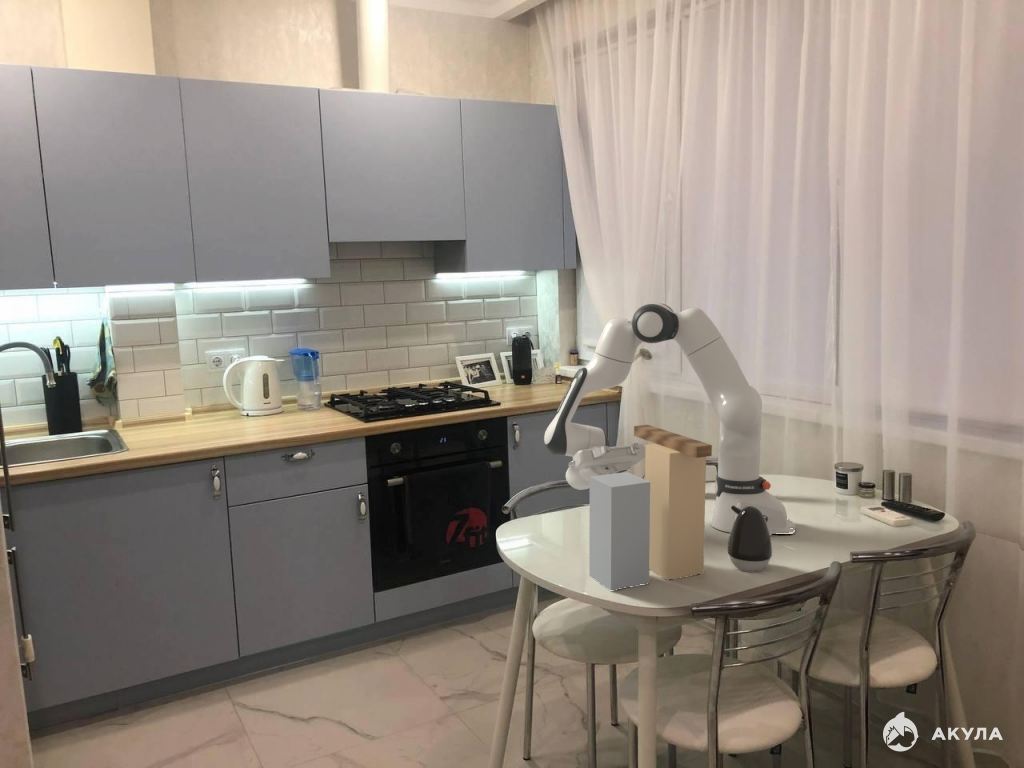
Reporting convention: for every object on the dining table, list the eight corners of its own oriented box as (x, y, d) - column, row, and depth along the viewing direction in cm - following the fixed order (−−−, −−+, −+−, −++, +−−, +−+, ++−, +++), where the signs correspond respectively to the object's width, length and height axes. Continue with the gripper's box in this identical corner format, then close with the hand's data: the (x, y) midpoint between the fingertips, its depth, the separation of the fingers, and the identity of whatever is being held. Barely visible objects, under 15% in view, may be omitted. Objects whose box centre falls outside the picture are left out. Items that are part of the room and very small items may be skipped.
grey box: (589, 576, 191) (589, 476, 188) (626, 569, 195) (627, 471, 192) (610, 591, 182) (611, 487, 179) (648, 584, 186) (650, 482, 183)
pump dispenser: (741, 557, 202) (743, 497, 200) (779, 568, 195) (781, 506, 192) (717, 567, 196) (719, 506, 194) (755, 579, 188) (757, 515, 186)
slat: (634, 435, 203) (634, 426, 203) (647, 434, 205) (647, 424, 204) (696, 457, 179) (696, 446, 179) (711, 456, 181) (711, 445, 180)
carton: (643, 566, 197) (645, 444, 193) (678, 559, 201) (680, 440, 197) (667, 580, 188) (669, 453, 184) (703, 573, 192) (706, 449, 187)
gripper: (563, 455, 221) (584, 439, 209) (628, 448, 229) (652, 432, 217) (568, 477, 219) (590, 462, 207) (633, 470, 227) (658, 455, 215)
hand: (622, 447), depth 212 cm, fingers open, 8 cm apart
